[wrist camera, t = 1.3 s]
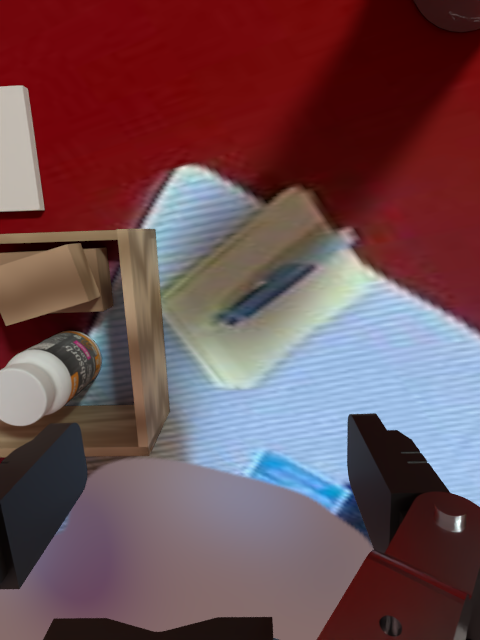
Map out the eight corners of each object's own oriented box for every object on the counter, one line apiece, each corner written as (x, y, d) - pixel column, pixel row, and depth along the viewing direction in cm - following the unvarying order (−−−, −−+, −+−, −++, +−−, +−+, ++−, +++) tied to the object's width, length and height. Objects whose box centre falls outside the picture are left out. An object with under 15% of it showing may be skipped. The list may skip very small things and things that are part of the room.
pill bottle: (112, 373, 39) (66, 420, 30) (61, 391, 40) (0, 442, 30) (89, 320, 38) (33, 352, 29) (36, 339, 39) (-36, 376, 29)
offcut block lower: (14, 251, 37) (-6, 253, 34) (108, 247, 37) (95, 248, 34) (24, 308, 39) (5, 315, 36) (114, 305, 38) (103, 311, 35)
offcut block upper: (1, 268, 35) (-18, 271, 32) (80, 243, 34) (67, 244, 32) (23, 319, 36) (6, 326, 33) (100, 296, 35) (88, 301, 33)
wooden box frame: (-37, 235, 37) (-115, 237, 29) (155, 228, 36) (127, 229, 28) (-4, 414, 41) (-65, 457, 33) (169, 411, 40) (149, 455, 32)
